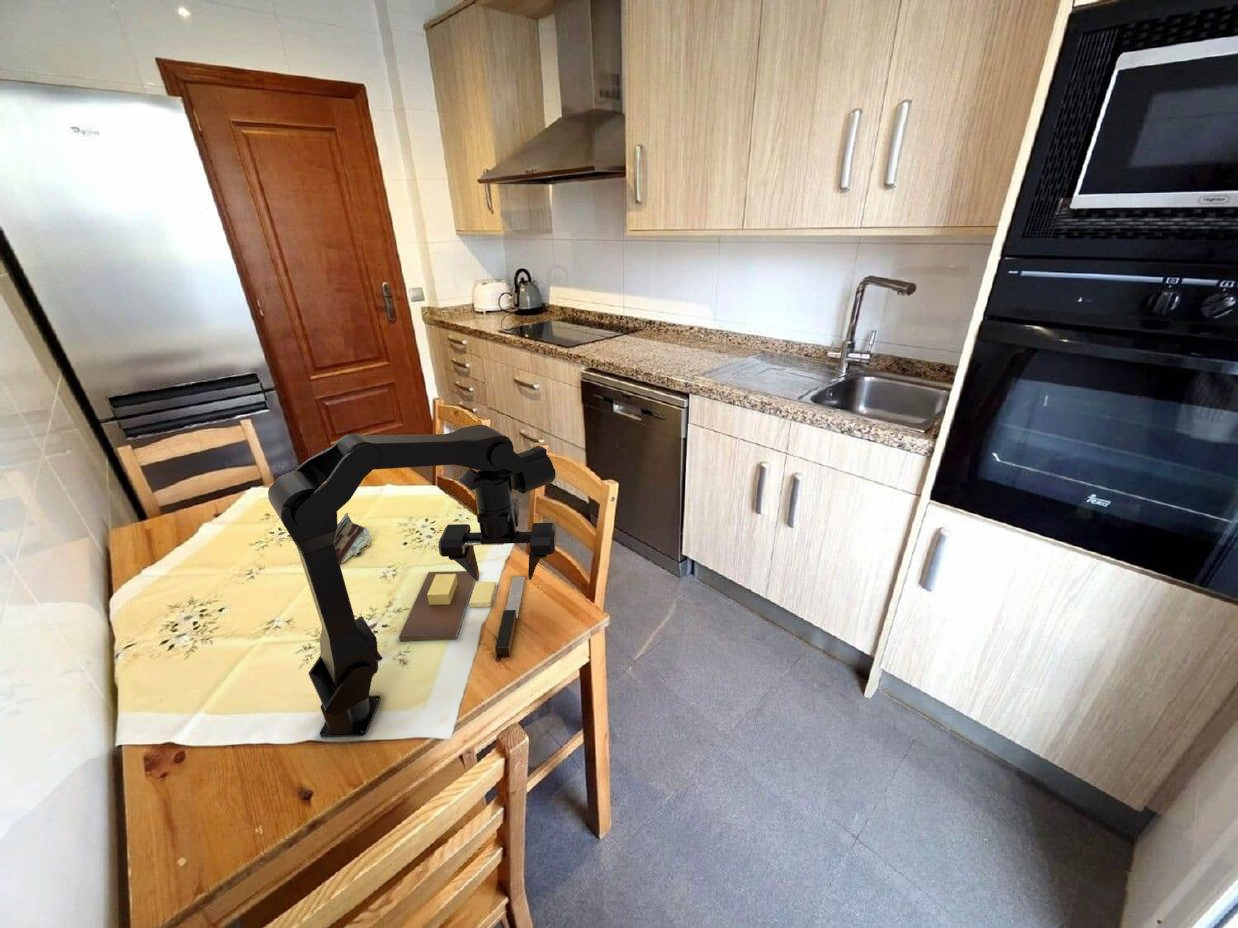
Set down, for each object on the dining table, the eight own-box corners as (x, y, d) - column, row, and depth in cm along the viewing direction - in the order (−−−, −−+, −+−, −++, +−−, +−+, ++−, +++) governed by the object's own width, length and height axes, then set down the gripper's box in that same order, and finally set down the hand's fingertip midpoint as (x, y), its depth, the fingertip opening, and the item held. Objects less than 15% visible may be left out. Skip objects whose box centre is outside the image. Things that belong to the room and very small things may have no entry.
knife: (510, 657, 86) (509, 647, 85) (495, 657, 86) (494, 647, 85) (525, 577, 105) (524, 568, 104) (513, 577, 105) (512, 568, 104)
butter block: (450, 604, 96) (448, 594, 95) (429, 604, 96) (426, 594, 95) (457, 583, 101) (456, 573, 100) (437, 584, 101) (435, 574, 100)
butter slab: (469, 602, 96) (469, 607, 97) (490, 602, 96) (490, 606, 97) (475, 582, 102) (476, 586, 102) (495, 581, 102) (496, 586, 102)
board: (456, 639, 90) (455, 635, 89) (399, 641, 89) (398, 636, 89) (477, 574, 106) (476, 570, 105) (429, 575, 105) (428, 571, 105)
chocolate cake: (341, 573, 106) (368, 520, 109) (311, 561, 106) (338, 509, 109) (361, 575, 115) (385, 526, 118) (333, 564, 116) (357, 516, 119)
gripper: (556, 477, 88) (560, 549, 95) (449, 479, 87) (461, 551, 95) (551, 511, 78) (556, 589, 85) (430, 513, 78) (445, 591, 85)
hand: (504, 578), depth 88 cm, fingers open, 9 cm apart
